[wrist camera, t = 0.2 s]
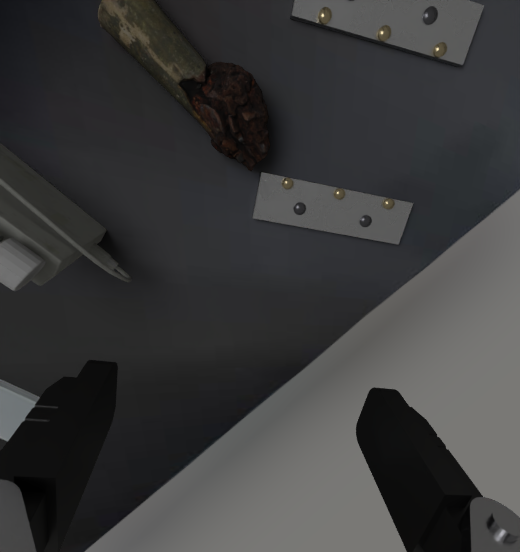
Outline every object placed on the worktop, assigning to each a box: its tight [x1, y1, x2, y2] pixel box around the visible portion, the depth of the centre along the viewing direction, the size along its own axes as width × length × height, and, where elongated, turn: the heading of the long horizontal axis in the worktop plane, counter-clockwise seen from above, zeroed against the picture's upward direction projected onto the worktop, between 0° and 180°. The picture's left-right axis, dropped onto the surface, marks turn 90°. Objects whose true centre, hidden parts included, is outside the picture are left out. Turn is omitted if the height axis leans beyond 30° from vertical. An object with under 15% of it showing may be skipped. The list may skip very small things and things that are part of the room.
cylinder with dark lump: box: [98, 0, 270, 171], centre depth 29 cm, size 18×7×6 cm, turn 44°
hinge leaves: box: [252, 0, 484, 245], centre depth 34 cm, size 24×18×1 cm
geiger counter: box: [0, 143, 132, 291], centre depth 27 cm, size 14×6×25 cm
